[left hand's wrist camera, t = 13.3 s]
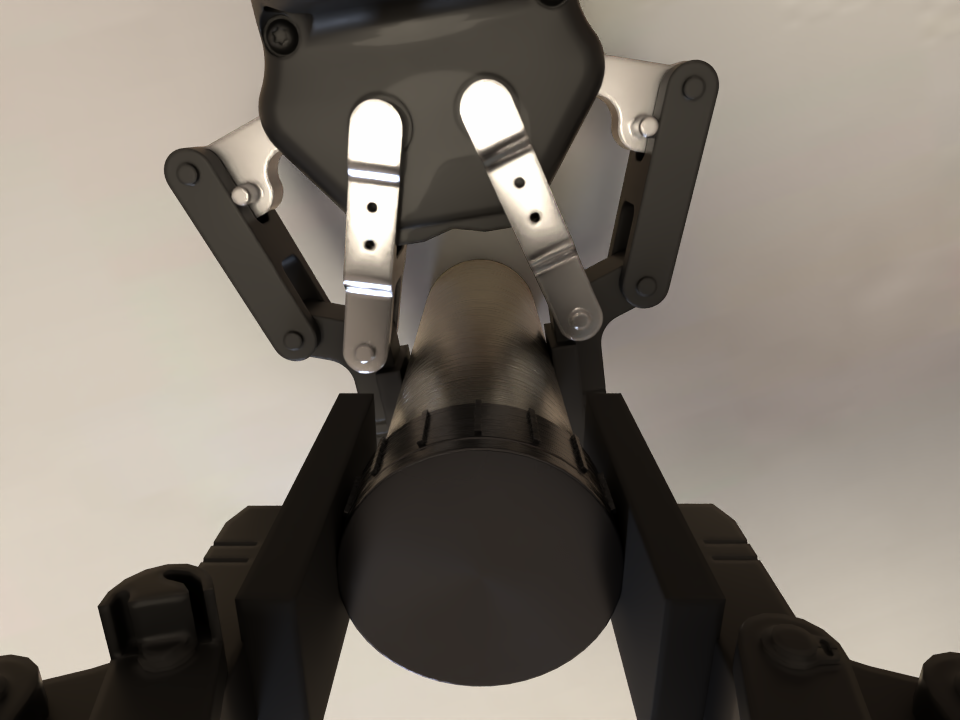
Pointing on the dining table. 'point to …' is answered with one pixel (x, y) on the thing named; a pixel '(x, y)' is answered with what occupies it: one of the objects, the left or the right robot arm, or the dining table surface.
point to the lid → (480, 546)
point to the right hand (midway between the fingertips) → (495, 456)
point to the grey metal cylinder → (480, 348)
